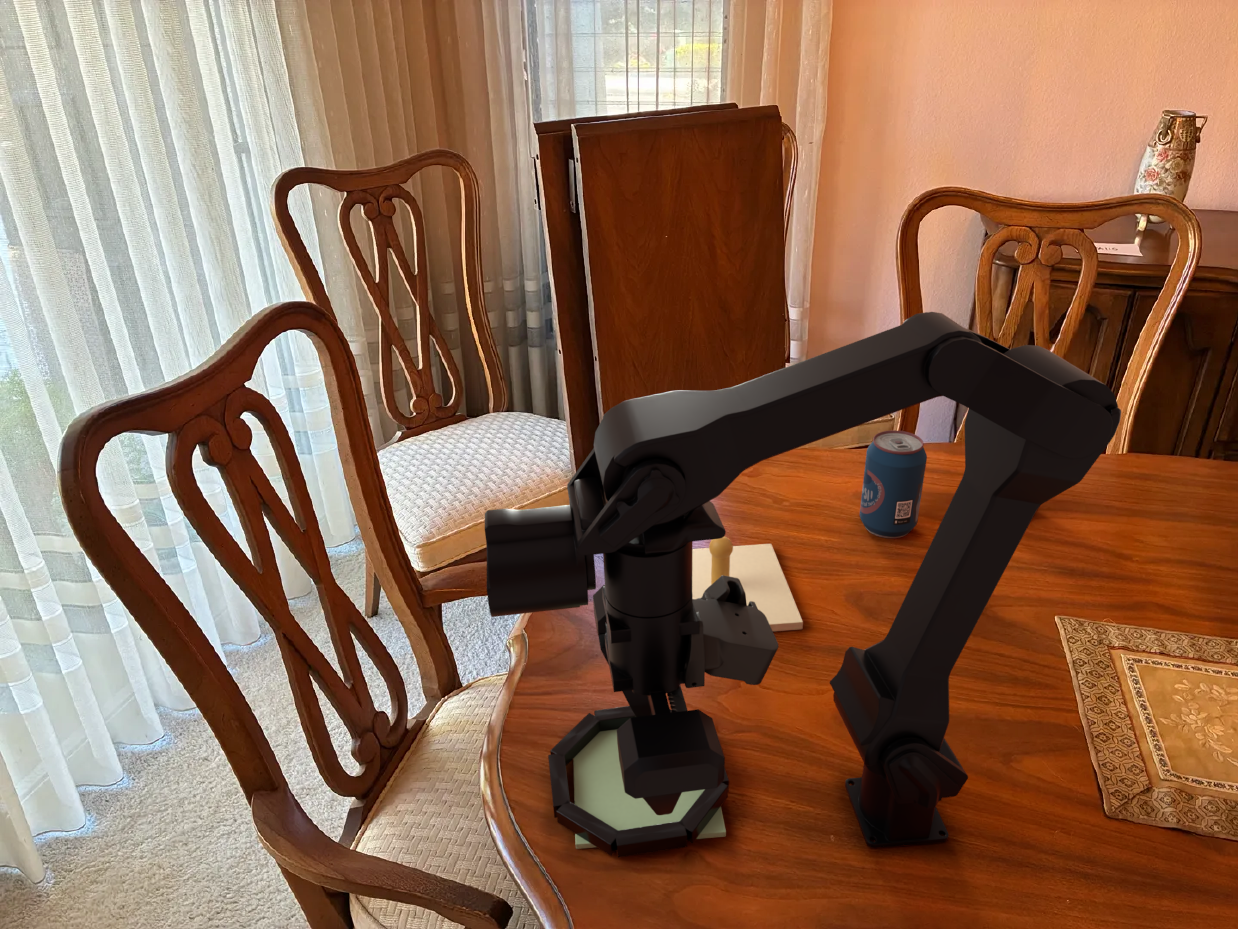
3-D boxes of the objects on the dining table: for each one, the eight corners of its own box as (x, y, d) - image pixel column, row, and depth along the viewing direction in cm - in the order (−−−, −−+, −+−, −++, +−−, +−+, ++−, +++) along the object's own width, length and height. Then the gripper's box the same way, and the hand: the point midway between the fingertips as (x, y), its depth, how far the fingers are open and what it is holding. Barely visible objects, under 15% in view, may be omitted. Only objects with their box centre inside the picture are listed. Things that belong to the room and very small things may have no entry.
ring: (743, 838, 67) (744, 826, 67) (559, 867, 66) (557, 855, 65) (701, 707, 80) (701, 695, 80) (545, 728, 79) (544, 716, 78)
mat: (726, 837, 68) (726, 832, 68) (575, 849, 68) (575, 844, 68) (703, 726, 79) (703, 721, 79) (573, 736, 78) (572, 731, 78)
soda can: (849, 515, 110) (858, 431, 104) (900, 508, 111) (912, 425, 105) (872, 544, 104) (883, 457, 98) (926, 537, 105) (940, 450, 99)
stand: (802, 629, 90) (807, 572, 87) (661, 639, 90) (660, 583, 86) (770, 550, 104) (773, 498, 100) (647, 558, 103) (646, 506, 100)
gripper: (815, 672, 49) (798, 855, 56) (733, 506, 65) (728, 664, 72) (621, 696, 48) (629, 880, 55) (587, 521, 64) (597, 680, 71)
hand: (653, 761), depth 63 cm, fingers open, 9 cm apart
